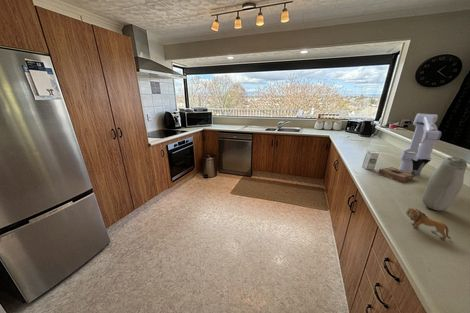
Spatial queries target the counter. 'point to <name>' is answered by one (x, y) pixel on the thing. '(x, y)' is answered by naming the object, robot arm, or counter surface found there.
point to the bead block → (396, 174)
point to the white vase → (445, 184)
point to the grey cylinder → (417, 170)
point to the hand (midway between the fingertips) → (416, 169)
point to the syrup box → (370, 160)
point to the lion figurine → (427, 222)
